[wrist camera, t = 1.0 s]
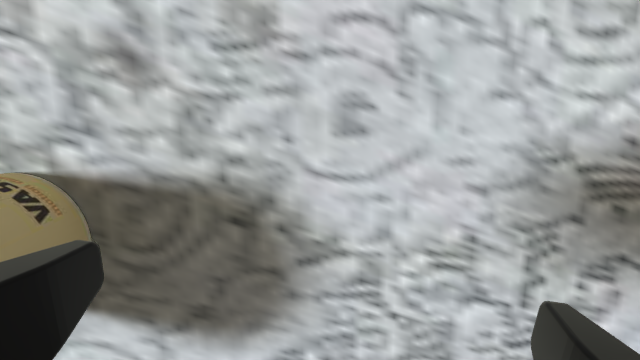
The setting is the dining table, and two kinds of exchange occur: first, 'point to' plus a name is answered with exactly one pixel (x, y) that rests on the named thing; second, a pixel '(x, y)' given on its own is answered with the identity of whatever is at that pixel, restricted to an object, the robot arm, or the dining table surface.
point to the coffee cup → (36, 216)
